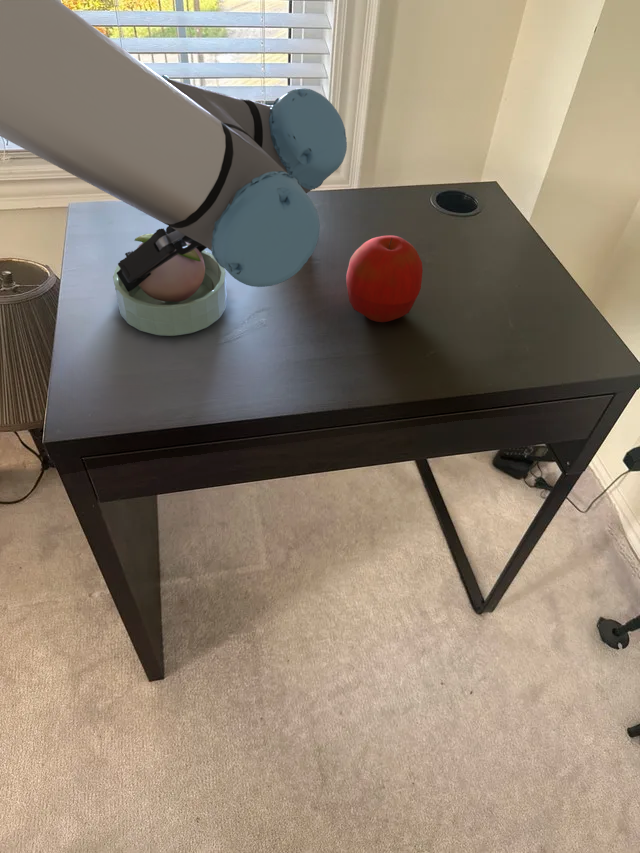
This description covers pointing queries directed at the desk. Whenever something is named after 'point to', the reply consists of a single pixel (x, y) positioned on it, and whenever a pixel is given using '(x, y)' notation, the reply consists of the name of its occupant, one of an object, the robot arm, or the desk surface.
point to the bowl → (176, 304)
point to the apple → (384, 278)
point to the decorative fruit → (174, 276)
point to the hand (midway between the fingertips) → (154, 266)
